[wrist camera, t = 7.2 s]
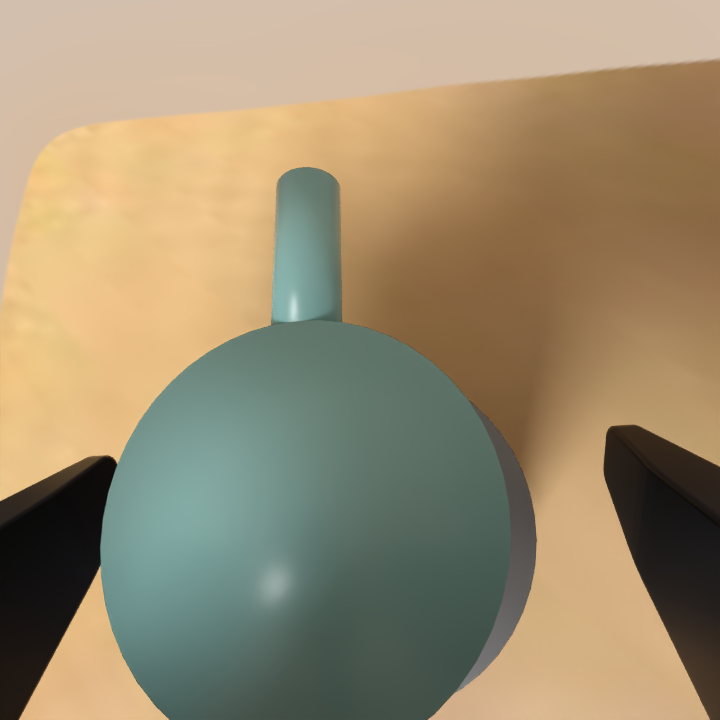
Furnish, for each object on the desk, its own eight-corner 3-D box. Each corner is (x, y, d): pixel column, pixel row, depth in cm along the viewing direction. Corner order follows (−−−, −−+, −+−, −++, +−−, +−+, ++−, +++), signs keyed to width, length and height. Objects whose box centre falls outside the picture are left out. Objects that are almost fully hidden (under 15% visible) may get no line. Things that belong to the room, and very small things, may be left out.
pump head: (494, 653, 9) (544, 781, 4) (249, 651, 10) (67, 759, 5) (457, 301, 11) (463, 143, 7) (264, 319, 12) (151, 189, 8)
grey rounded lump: (519, 649, 14) (564, 721, 9) (286, 647, 15) (198, 711, 10) (491, 412, 16) (511, 355, 11) (291, 425, 17) (222, 378, 12)
